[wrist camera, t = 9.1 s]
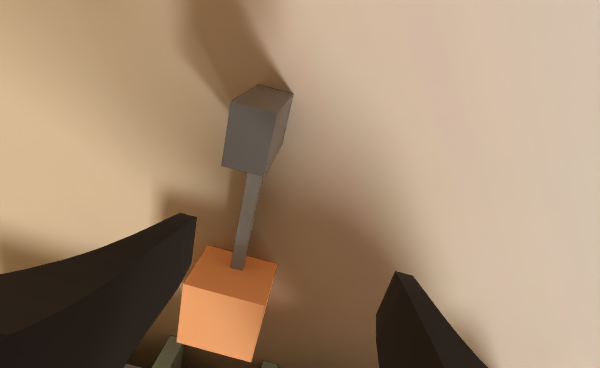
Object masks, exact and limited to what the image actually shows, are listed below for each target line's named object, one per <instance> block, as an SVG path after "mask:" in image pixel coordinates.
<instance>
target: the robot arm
mask: <svg viewBox="0 0 600 368" xmlns="http://www.w3.org/2000/svg"><path fill="white" fill-rule="evenodd" d="M196 220H197V217H193V216H190V215H186V214H182V213H179V214H177V215H174V216H172V217H170V218H168V219H166V220H164V221H162V222H159V223H157V224H155V225H153V226H151V227H149V228H147V229H144V230H142V231H140V232H138V233H136V234H133V235H131V236H129V237H126V238H124V239H121V240H119V241H116V242H114V243H111V244H109V245H107V246H104V247H101V248H99V249H96V250H93V251H90V252H87V253H84V254H81V255H78V256H74V257H71V258H68V259H64V260H61V261H57V262H53V263H49V264H45V265H41V266H37V267H33V268H29V269H25V270H20V271H15V272H10V273H5V274H0V368H124V366H125V364H126V363H127V361H128V359H129V358H130V356H131V354H132V352H133V351H134V349H135V348H136V346H137V345H138V343H139V342H140V340H141V339H142V338H143V336H144V335H145V333H146V332H147V331H148V329H149V328H150V326H151V325H152V324H153V322H154V321H155V319H156V318H157V317H158V315H159V314H160V313H161V311H162V310H163V308H164V307H165V306H166V304H167V303H168V301H169V300H170V299H171V297H172V296H173V294H174V293H175V291H176V290H177V289H178V287H179V285H180V283H181V282H182V280H183V278H184V276H185V274H186V272H187V270H188V268H189V267H190V265H191V261H192V253H193V244H194V236H195V228H196ZM376 343H377V352H378V360H379V368H488V367H487V366H486V365H485V364H484V363H483V362H482V361H481V360H480V359H479V358H478V357H477V356H476V355H475V354H474V353H473V351H472V350H471V349H470V348H469V347H468V346H467V345H466V343H465V342H464V341H463V340H462V339H461V338H460V336H459V335H458V334H457V333H456V332H455V330H454V329H453V328H452V327H451V325H450V324H449V323H448V322H447V320H446V319H445V318H444V316H443V315H442V314H441V313H440V311H439V310H438V309H437V307H436V306H435V305H434V303H433V302H432V301H431V299H430V298H429V297H428V295H427V294H426V293H425V291H424V290H423V289H422V287H421V286H420V285H419V283H418V282H417V281H416V279H415V278H414V277H413V276H412V275H408V274H404V273H400V272H397V271H395V273H394V275H393V278H392V280H391V282H390V284H389V287H388V289H387V291H386V293H385V296H384V298H383V300H382V303H381V305H380V307H379V309H378V312H377V314H376Z"/></svg>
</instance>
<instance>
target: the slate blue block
mask: <svg viewBox="0 0 600 368" xmlns="http://www.w3.org/2000/svg"><path fill="white" fill-rule="evenodd" d="M124 368H142V367H137V366H133V365H129V364H125V366H124Z"/></svg>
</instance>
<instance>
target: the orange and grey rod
mask: <svg viewBox="0 0 600 368" xmlns="http://www.w3.org/2000/svg"><path fill="white" fill-rule="evenodd" d="M292 98H293V94H292V93H288V92H284V91H280V90H277V89H273V88H269V87H265V86H261V85H257V86H255V87H254V88H252V89H250V90H249V91H247V92H245V93H244V94H242V95H240V96H239V97H237V98H235V99H234V100H232V101H231V104H230V111H229V118H228V124H227V131H226V138H225V145H224V152H223V158H222V165H221V166H224V167H227V168H231V169H235V170H239V171H242V172H246V173H247V178H246V184H245V189H244V195H243V200H242V206H241V211H240V216H239V222H238V227H237V233H236V238H235V243H234V249H233V252H231V251H227V250H223V249H220V248H216V247H212V246H209V245H208V246H207V247H206V249H205V250H204V252H203V254H202V255H201V257H200V258H199V260H198V261H197V263H196V265H195V266H194V268H193V269H192V271H191V272H190V274H189V275H188V277H187V279H186V280H185V282H184V283H183V289H182V298H181V307H180V316H179V325H178V333H177V342H178V343H181V344H185V345H189V346H192V347H196V348H200V349H203V350H207V351H211V352H214V353H218V354H222V355H225V356H229V357H233V358H236V359H240V360H244V361H247V362H251V361H252V357H253V354H254V350H255V346H256V343H257V339H258V336H259V332H260V329H261V325H262V322H263V318H264V314H265V311H266V307H267V303H268V299H269V295H270V291H271V287H272V283H273V280H274V276H275V272H276V268H277V264H275V263H272V262H268V261H264V260H260V259H257V258H253V257H249V256H247V252H248V247H249V242H250V238H251V233H252V228H253V223H254V218H255V213H256V209H257V204H258V199H259V194H260V189H261V184H262V180H263V177H264V176H265V174H266V172H267V171H268V169H269V167H270V165H271V163H272V162H273V160H274V158H275V156H276V154H277V153H278V151H279V149H280V147H281V145H282V142H283V138H284V133H285V129H286V124H287V120H288V116H289V111H290V107H291V102H292Z"/></svg>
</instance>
